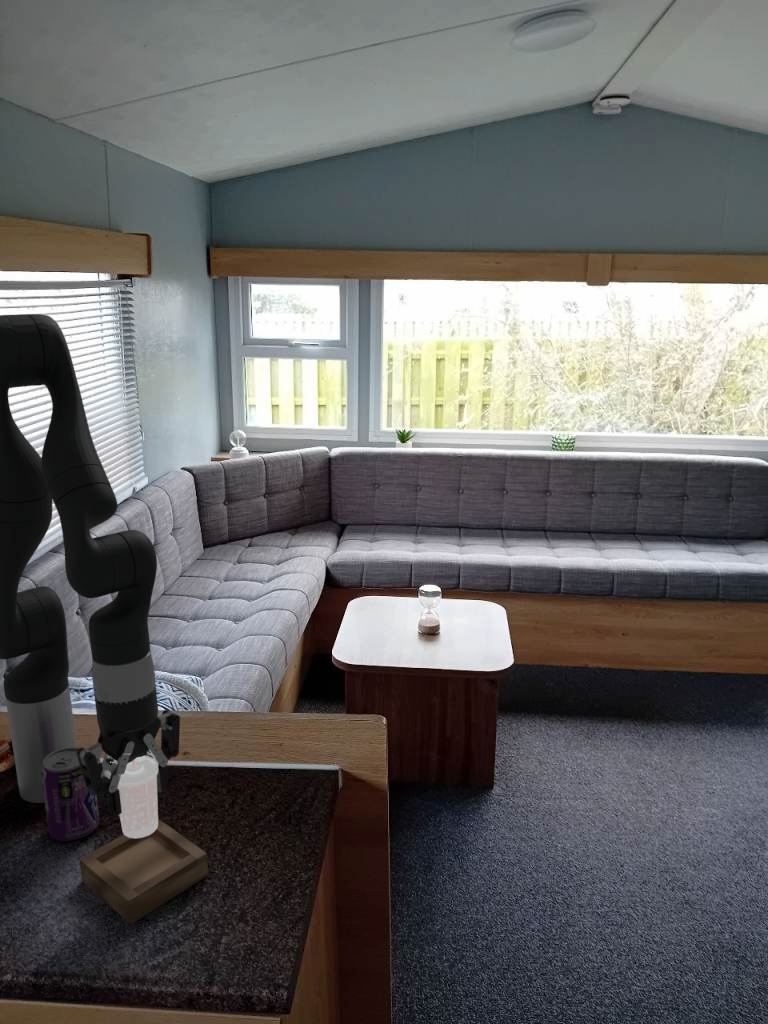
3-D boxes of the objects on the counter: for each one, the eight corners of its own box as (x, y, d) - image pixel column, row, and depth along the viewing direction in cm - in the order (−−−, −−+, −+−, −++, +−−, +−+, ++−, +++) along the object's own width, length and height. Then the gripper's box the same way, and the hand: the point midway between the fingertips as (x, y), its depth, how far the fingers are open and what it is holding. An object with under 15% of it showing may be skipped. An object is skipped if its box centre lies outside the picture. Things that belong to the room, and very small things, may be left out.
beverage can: (83, 848, 122) (74, 774, 119) (39, 842, 123) (28, 769, 120) (108, 817, 129) (100, 747, 125) (66, 812, 130) (57, 742, 127)
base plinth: (82, 881, 115) (79, 859, 114) (158, 837, 124) (155, 817, 123) (131, 924, 108) (128, 901, 107) (208, 874, 116) (206, 853, 115)
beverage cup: (149, 807, 118) (140, 717, 114) (172, 827, 113) (164, 733, 110) (108, 827, 114) (97, 734, 110) (130, 848, 109) (120, 752, 105)
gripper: (156, 658, 115) (167, 767, 120) (56, 697, 105) (72, 815, 110) (189, 674, 110) (199, 787, 115) (88, 717, 100) (103, 839, 105)
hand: (137, 800), depth 112 cm, fingers closed on beverage cup, 6 cm apart
